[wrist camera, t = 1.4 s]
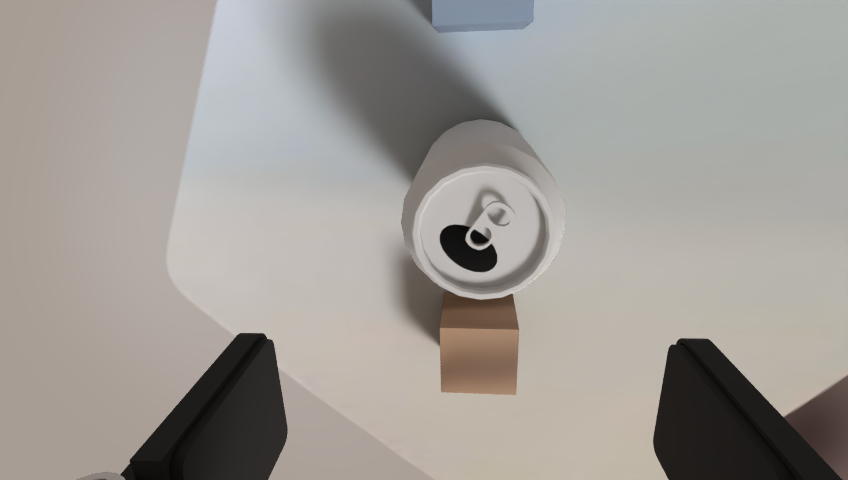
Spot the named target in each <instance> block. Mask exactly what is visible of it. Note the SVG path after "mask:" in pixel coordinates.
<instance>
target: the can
mask: <svg viewBox="0 0 848 480" xmlns="http://www.w3.org/2000/svg"><path fill="white" fill-rule="evenodd" d="M401 224H402V230H403V235H404V240H405V245H406V247H407V249H408V251H409V253H410V254H411V256H412V258H413V260H414V262H415V263H416V265H417V267H418V268H419V269H421V270H422V271H423V272H424V273H425V274H426V275H427V276H428V277H429V278H430V279H431V280H432V281H433V282H434V283H436V284H438V285H439V286H440V287H442V288H444V289H446V290H448V291H450V292H452V293H454V294H456V295H458V296H462V297H468V298H474V299H479V300H482V299H492V298H501V297H504V296H507V295H509V294H512V293H514V292H517V291H519V290H522V289H523V288H524V287H526V286H527V285H528V284H529V283H531V282H532V281H533V280H534V279H536V278H537V277H538V276H539V275H540V274H541V273H543V272H544V271H545V270H546V269H547V267H548V266H549V264H550V263H551V261H552V260H553V258H554V257H555V255H556V254H557V252H558V251H559V248H560V245H561V241H562V237H563V234H564V230H565V226H566V224H565V210H564V200H563V198H562V196H561V194H560V191H559V189H558V187H557V184H556V182H555V180H554V178H553V176H552V175H551V174H550V172H549V171H548V169H547V168H546V167H545V165H544V164H543V163H542V161H541V160H540V159H539V157H538V156H537V154H536V153H535V152H534V150H533V149H532V148H531V146H530V145H529V144H528V143H527V142H526V140H525V139H524V138H523V137H522V136H521V135H520V134H519V133H518V132H517V131H516V130H514V129H512V128H510V127H508V126H506V125H504V124H503V123H501V122H496V121H490V120H484V119H479V120H473V121H466V122H462V123H460V124H458V125H456V126H454V127H452V128H450V129H448V130H446V131H445V132H444V133H443V134H442V135H441V136H440V137H439V138H438V139H437V140H436V141H435V142H434V143H433V144H432V146H431V148H430V150H429V152H428V154H427V156H426V158H425V160H424V161H423V163H422V165H421V167H420V169H419V171H418V173H417V175H416V176H415V179H414V181H413V183H412V185H411V187H410V189H409V191H408V193H407V195H406V197H405V199H404V205H403V213H402V220H401Z"/></svg>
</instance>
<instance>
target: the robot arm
mask: <svg viewBox="0 0 848 480" xmlns="http://www.w3.org/2000/svg"><path fill="white" fill-rule="evenodd" d="M286 439H287V423H286V416H285V410H284V404H283V397H282V392H281V385H280V379H279V373H278V367H277V360H276V354H275V348H274V343H273V341H272V340H271V339H267V337H266V336H265V334H263V333H240V334H238V335H237V336H236V337H235V338H234V340H233V341H232V342H231V343H230V344H229V346H228V347H227V348H226V349H225V350H224V351H223V353H222V354H221V355H220V356H219V357H218V358H217V359H216V361H215V362H214V363H213V364H212V365H211V366H210V368H209V369H208V370H207V371H206V372H205V373H204V374H203V376H202V377H201V378H200V379H199V381H197V383H196V384H195V385H194V386H193V387H192V388H191V390H190V391H189V392H188V393H187V394H186V395H185V397H184V398H183V399H182V400H181V401H180V402H179V404H178V405H177V406H176V407H175V408H174V409H173V411H172V412H171V413H170V414H169V415H168V416H167V417H166V419H165V420H164V421H163V422H162V423H161V424H160V426H159V427H158V428H157V429H156V430H155V432H154V433H153V434H152V435H151V436H150V437H149V438H148V440H147V441H146V442H145V443H144V444H143V445H142V446H141V448H140V449H139V450H138V451H137V452H136V454H135V455H134V456H133V457H132V458H131V459H130V464H129V465H128V466H127V468H126V469H125V470H124V471H123V472H122V473H121V475H119V474H117V473H110V472H103V473H96V474H91V475H88V476H85V477H82V478H80V479H77V480H268V478H269V476H270V474H271V472H272V470H273V468H274V466H275V464H276V462H277V460H278V457H279V455H280V453H281V451H282V449H283V447H284V445H285V442H286ZM653 444H654V450H655V453H656V456H657V458H658V460H659V462H660V464H661V466H662V468H663V470H664V471H665V473H666V475H667V477H668V479H669V480H842V479H841V478H840V477H839V476H838V475H837V474H836V473H835V472H834V471H833V470H832V468H831V467H830V466H829V465H828V464H827V463H826V462H825V461H824V460H823V459H822V458H821V457H820V456H819V455H818V454H817V453H816V451H815V450H814V449H813V448H812V447H811V446H810V445H809V444H808V443H807V442H806V441H805V440H804V439H803V438H802V437H801V436H800V435H799V433H798V432H797V431H796V430H795V429H794V428H793V427H792V426H791V425H790V424H789V423H788V422H787V421H786V420H785V419H784V418H783V417H782V416H781V414H780V413H779V412H778V411H777V410H776V409H775V408H774V407H773V406H772V405H771V404H770V403H769V402H768V401H767V400H766V399H765V398H764V397H763V395H762V394H761V393H760V392H759V391H758V390H757V389H756V388H755V387H754V386H753V385H752V384H751V383H750V382H749V381H748V380H747V379H746V377H745V376H744V375H743V374H742V373H741V372H740V371H739V370H738V369H737V368H736V367H735V366H734V365H733V364H732V363H731V362H730V361H729V360H728V358H727V357H726V356H725V355H724V354H723V353H722V352H721V351H720V350H719V349H718V348H717V347H716V346H715V345H714V344H713V343H712V342H711V341H710V340H709V339H685V338H681V339H679V340H678V341H677V343H676V345H671V346H670V347H669V350H668V355H667V361H666V367H665V373H664V378H663V384H662V390H661V396H660V402H659V408H658V414H657V420H656V426H655V431H654V438H653Z"/></svg>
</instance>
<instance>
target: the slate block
mask: <svg viewBox="0 0 848 480" xmlns="http://www.w3.org/2000/svg"><path fill="white" fill-rule="evenodd" d="M533 7H534V0H432V26H433V27H434V28H435V29H436V30H437V31H438V32H439V33H444V32H467V31H490V30H513V29H524V28H525V27H526V26H527V25H529V24H530V23H531V22H533Z"/></svg>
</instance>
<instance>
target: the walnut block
mask: <svg viewBox="0 0 848 480" xmlns="http://www.w3.org/2000/svg"><path fill="white" fill-rule="evenodd" d="M518 341H519V327H518V321H517V316H516V310H515V305H514V299H513V294H509V295H507V296H504V297H501V298H492V299H482V300H479V299H474V298H468V297H462V296H458V295H456V294H454V293H444V298H443V306H442V314H441V322H440V360H441V392H454V393H479V394H505V395H516V384H517V362H518Z"/></svg>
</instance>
